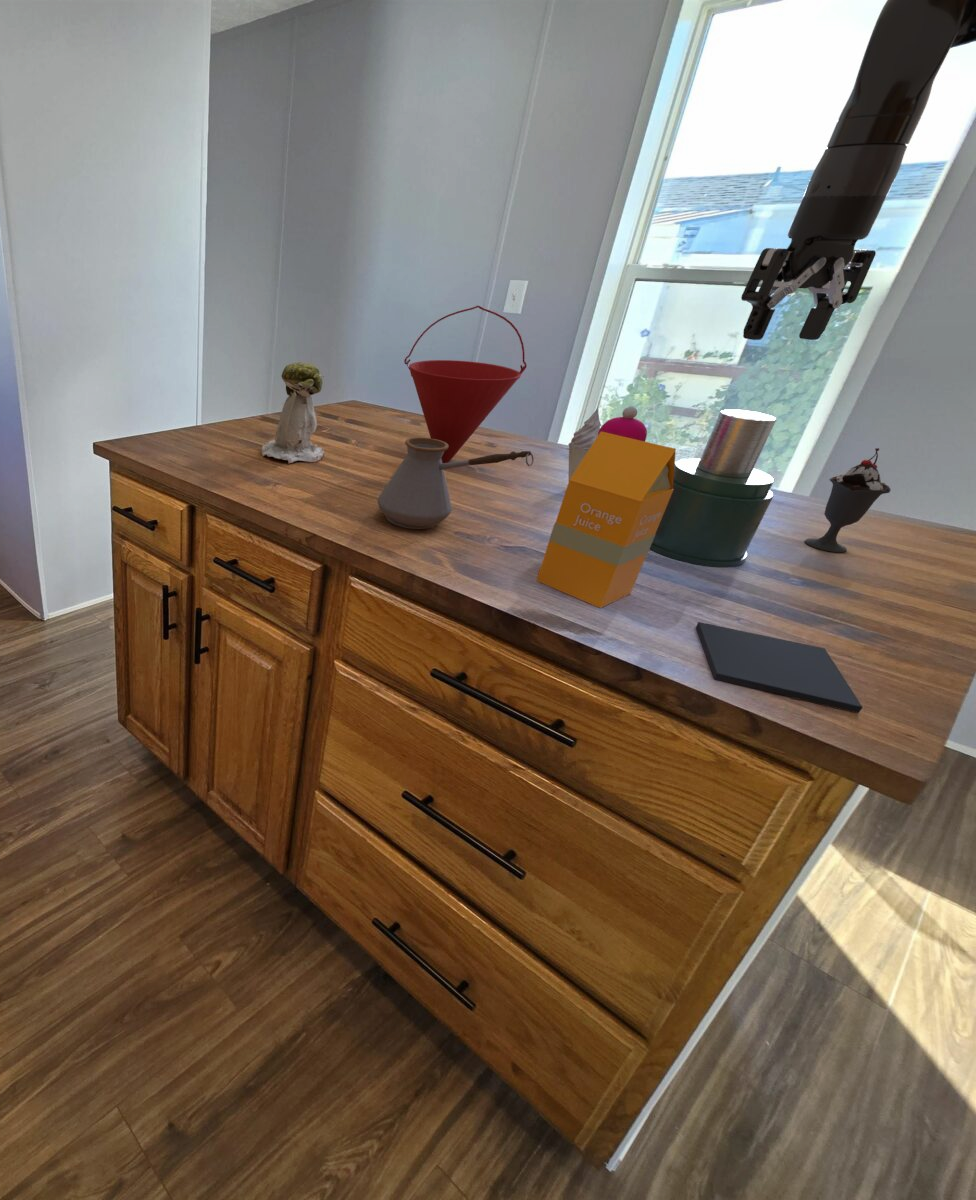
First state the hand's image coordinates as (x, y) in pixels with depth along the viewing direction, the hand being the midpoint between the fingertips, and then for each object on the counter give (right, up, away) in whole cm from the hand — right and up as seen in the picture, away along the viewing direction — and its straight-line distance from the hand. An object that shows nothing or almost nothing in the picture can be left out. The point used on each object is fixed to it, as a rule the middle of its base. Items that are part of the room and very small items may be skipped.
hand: (780, 339), depth 85 cm
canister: (-1, -26, +14) cm, 30 cm away
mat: (-13, -42, -13) cm, 46 cm away
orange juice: (-24, -33, +2) cm, 41 cm away
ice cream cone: (-6, -14, +36) cm, 39 cm away
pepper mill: (-14, -24, +18) cm, 33 cm away
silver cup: (0, -16, +8) cm, 18 cm away
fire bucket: (-26, -8, +46) cm, 53 cm away
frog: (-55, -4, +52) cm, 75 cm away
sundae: (+21, -26, +16) cm, 37 cm away
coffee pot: (-37, -23, +19) cm, 48 cm away
